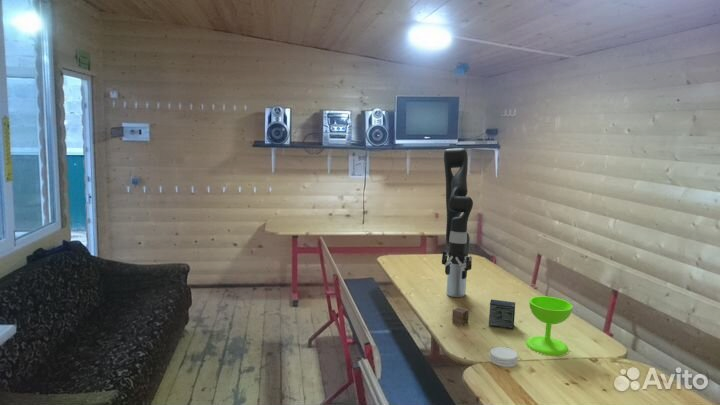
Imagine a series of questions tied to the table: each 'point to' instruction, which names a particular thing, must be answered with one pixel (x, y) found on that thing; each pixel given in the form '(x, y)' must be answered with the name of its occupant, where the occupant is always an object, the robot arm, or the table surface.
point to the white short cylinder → (503, 357)
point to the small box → (502, 314)
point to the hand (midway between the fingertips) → (455, 276)
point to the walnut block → (460, 316)
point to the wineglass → (549, 324)
